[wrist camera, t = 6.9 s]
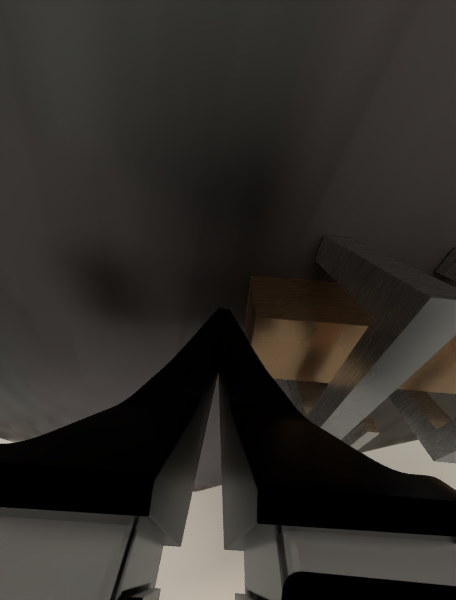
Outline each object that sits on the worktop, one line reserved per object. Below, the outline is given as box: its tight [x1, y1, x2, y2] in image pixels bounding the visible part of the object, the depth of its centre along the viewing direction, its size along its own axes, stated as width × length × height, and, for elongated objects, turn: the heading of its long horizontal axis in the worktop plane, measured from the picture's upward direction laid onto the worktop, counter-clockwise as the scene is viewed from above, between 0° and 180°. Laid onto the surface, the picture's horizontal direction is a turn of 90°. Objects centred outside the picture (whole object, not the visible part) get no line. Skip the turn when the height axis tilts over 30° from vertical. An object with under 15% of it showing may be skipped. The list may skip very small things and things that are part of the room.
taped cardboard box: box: [244, 276, 456, 394], centre depth 9 cm, size 12×4×4 cm, turn 87°
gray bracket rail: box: [287, 235, 456, 463], centre depth 9 cm, size 7×11×5 cm, turn 176°
